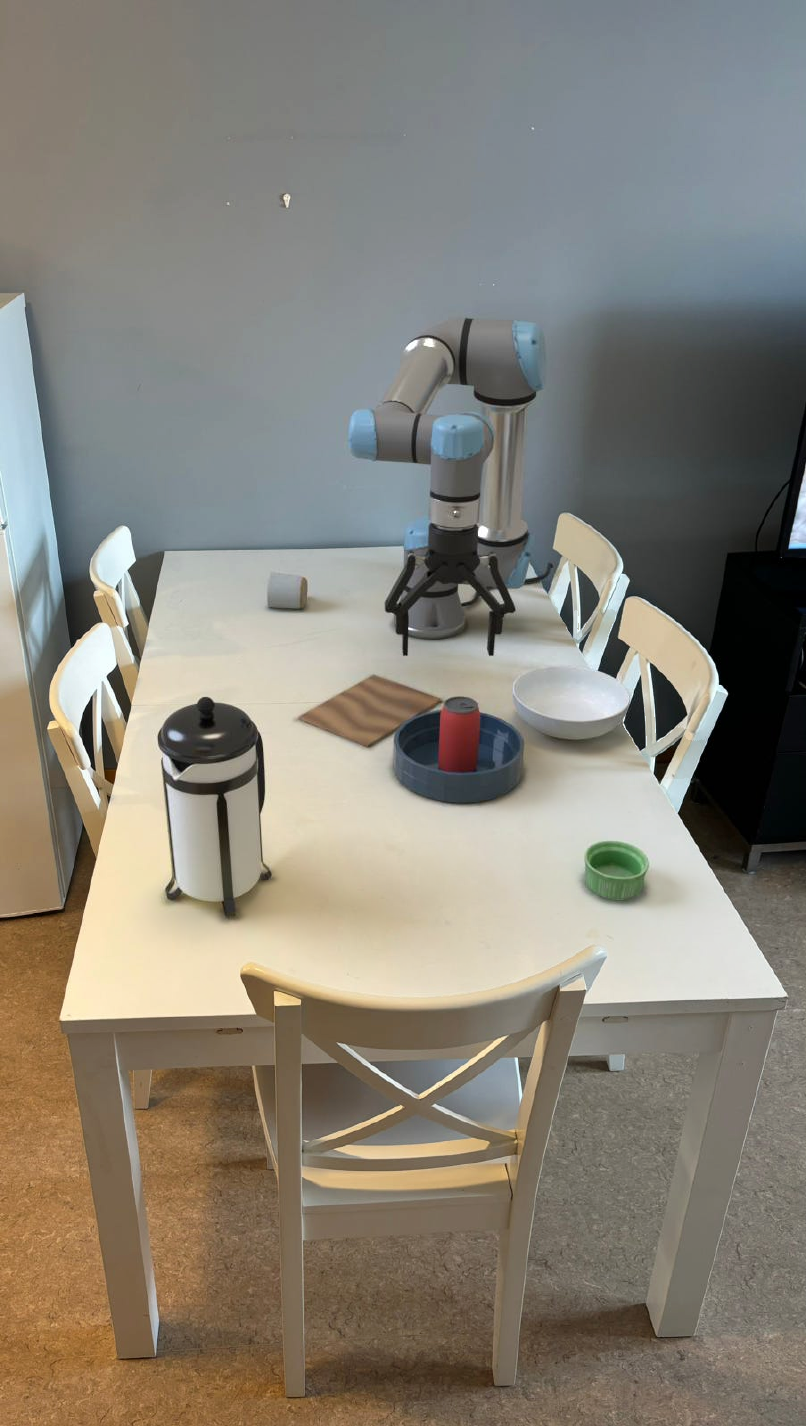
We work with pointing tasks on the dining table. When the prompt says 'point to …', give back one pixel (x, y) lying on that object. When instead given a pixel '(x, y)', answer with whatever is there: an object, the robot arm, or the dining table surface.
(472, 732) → the beer can
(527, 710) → the serving bowl
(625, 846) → the ramekin
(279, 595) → the grey cylinder
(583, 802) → the dining table surface
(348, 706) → the wooden cutting board
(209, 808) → the coffee press
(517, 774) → the blue bowl
